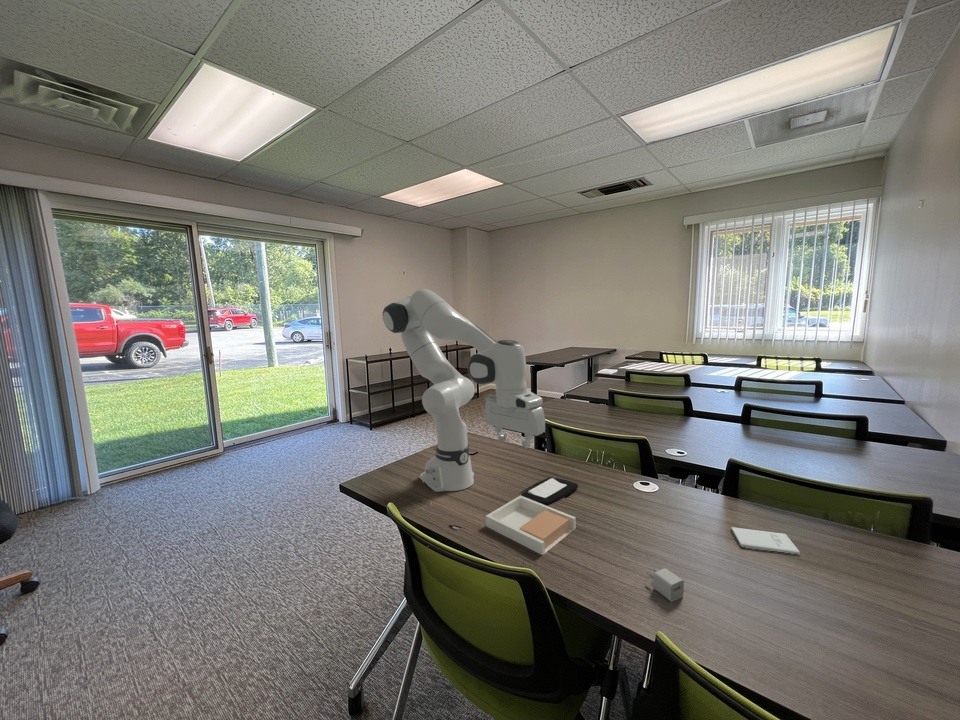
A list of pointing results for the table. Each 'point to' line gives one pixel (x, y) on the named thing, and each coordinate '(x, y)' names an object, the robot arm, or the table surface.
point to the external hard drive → (764, 540)
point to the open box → (524, 522)
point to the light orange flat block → (546, 527)
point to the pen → (455, 527)
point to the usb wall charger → (668, 584)
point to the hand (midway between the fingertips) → (514, 443)
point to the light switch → (549, 490)
